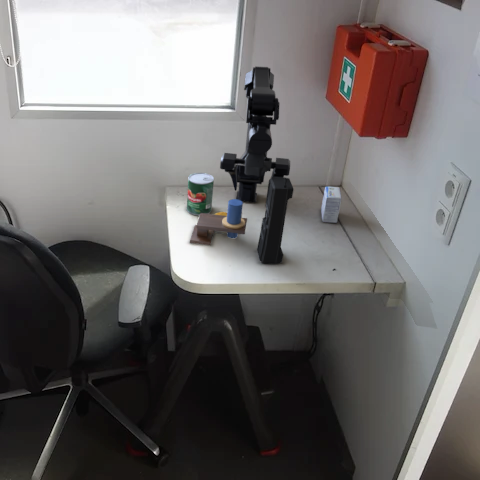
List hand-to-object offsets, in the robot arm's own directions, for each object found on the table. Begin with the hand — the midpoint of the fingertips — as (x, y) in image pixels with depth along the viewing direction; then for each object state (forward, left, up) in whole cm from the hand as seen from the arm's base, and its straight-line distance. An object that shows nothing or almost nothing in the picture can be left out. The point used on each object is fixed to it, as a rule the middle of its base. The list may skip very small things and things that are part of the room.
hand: (251, 191), depth 153 cm
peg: (+6, -4, -12) cm, 14 cm away
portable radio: (+12, +7, -13) cm, 19 cm away
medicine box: (-15, +24, -13) cm, 31 cm away
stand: (+6, -8, -13) cm, 16 cm away
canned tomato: (-10, -16, -13) cm, 23 cm away
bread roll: (0, -8, -11) cm, 14 cm away
